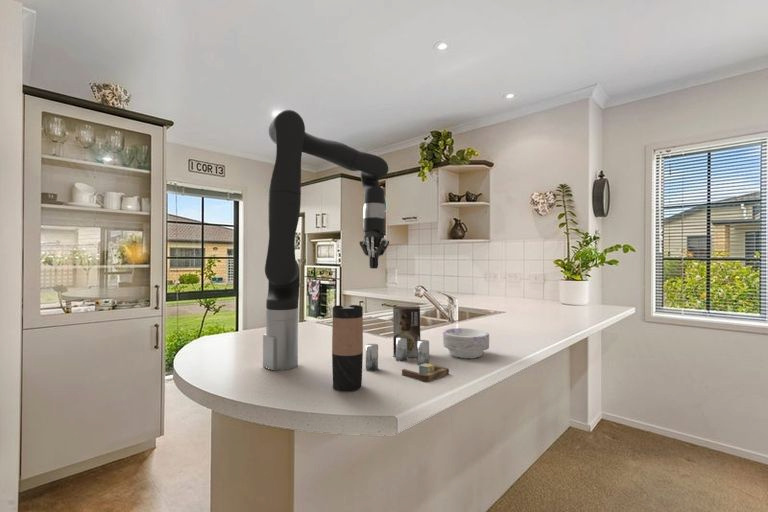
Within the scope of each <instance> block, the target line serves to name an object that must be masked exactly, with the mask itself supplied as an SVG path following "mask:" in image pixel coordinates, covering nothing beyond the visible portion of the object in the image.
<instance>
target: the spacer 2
mask: <svg viewBox="0 0 768 512" xmlns="http://www.w3.org/2000/svg"><path fill="white" fill-rule="evenodd" d="M395 361H397V362H406V361H408V357H407V337H396V357H395Z"/></svg>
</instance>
